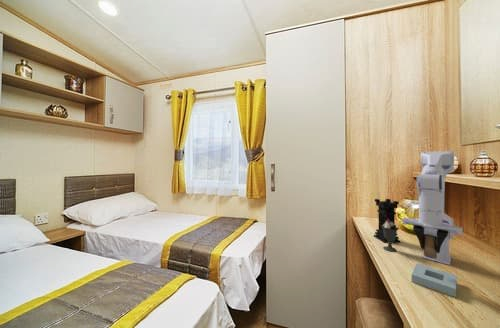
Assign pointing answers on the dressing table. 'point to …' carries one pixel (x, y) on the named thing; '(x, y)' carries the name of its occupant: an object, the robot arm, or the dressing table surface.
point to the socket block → (435, 279)
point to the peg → (430, 246)
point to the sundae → (389, 234)
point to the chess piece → (389, 211)
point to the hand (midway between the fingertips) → (430, 250)
